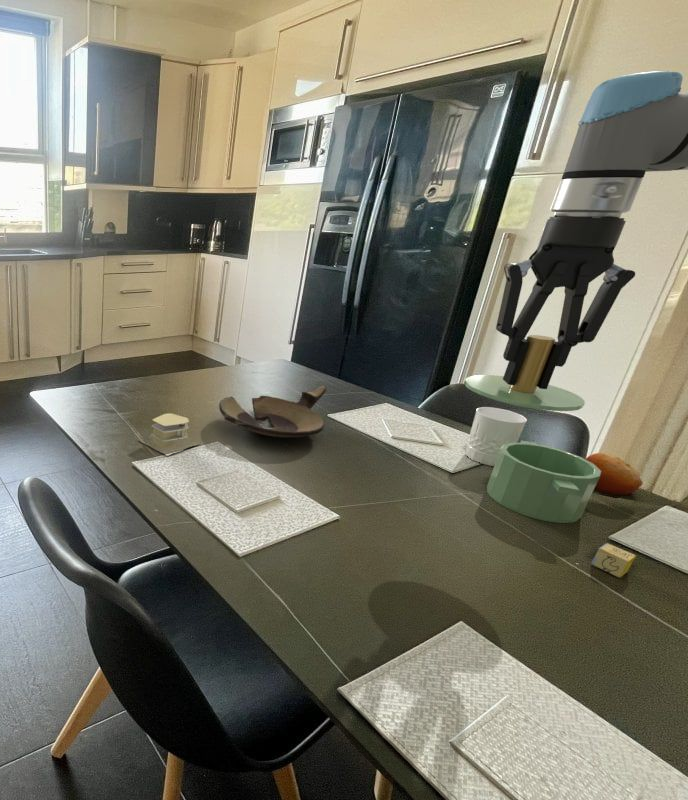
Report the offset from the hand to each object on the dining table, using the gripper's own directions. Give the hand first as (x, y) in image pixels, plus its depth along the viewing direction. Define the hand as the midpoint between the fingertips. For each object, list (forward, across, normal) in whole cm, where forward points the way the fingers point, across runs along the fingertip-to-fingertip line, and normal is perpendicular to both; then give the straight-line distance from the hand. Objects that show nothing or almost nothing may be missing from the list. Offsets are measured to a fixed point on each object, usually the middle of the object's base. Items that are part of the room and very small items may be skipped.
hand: (524, 383), depth 72 cm
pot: (+24, +10, +10) cm, 28 cm away
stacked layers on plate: (+24, -54, +4) cm, 59 cm away
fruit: (+24, +23, +20) cm, 39 cm away
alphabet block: (+24, +14, -7) cm, 29 cm away
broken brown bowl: (+24, -33, +22) cm, 46 cm away
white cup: (+24, +7, +26) cm, 36 cm away
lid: (+2, 0, 0) cm, 2 cm away
